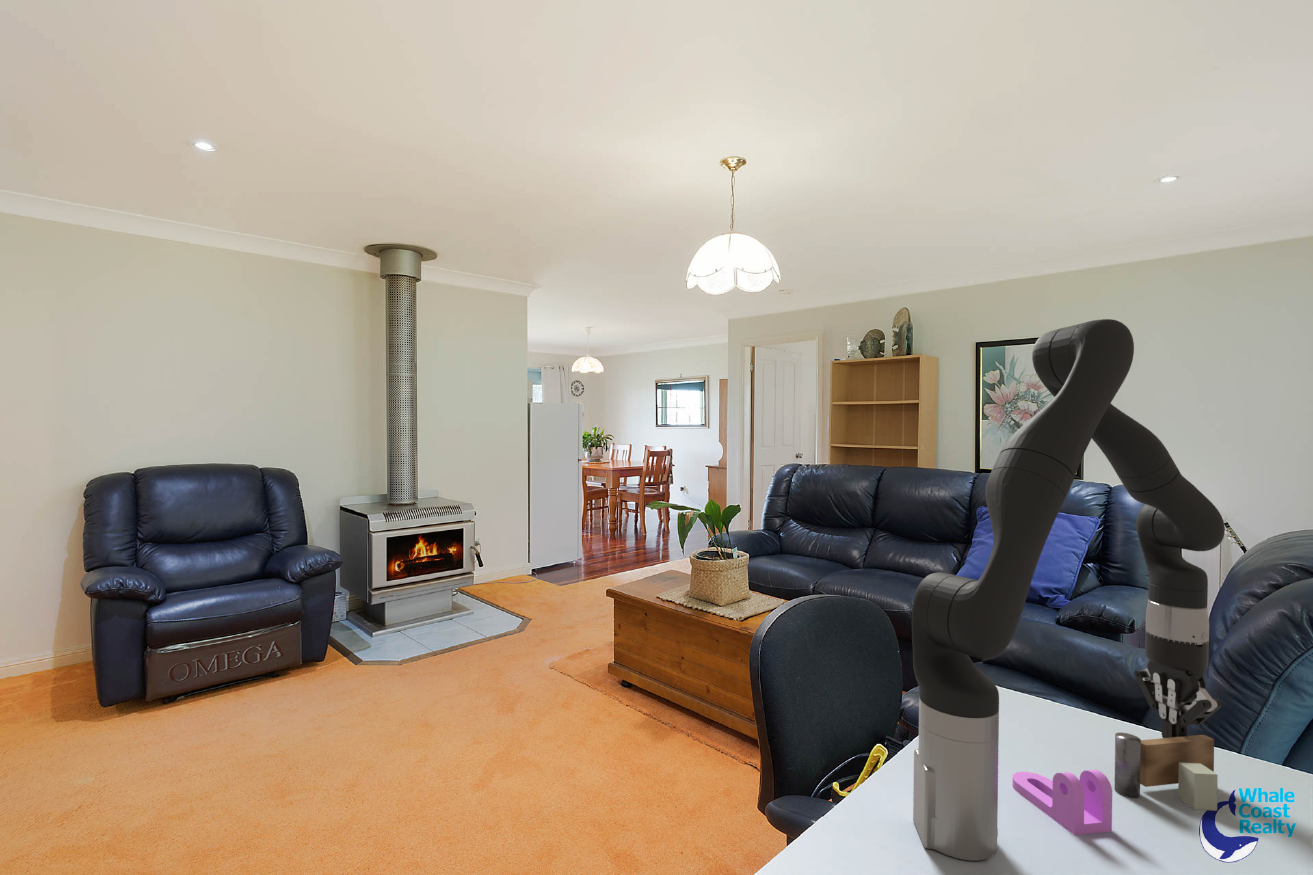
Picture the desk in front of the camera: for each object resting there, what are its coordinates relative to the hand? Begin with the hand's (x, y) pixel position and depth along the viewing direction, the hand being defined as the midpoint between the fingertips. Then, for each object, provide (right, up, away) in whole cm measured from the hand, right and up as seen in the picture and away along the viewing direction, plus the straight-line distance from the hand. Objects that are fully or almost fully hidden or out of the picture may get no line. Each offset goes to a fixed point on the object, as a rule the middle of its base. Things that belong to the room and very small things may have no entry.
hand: (1173, 745), depth 98 cm
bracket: (-23, -5, -8) cm, 25 cm away
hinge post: (-11, -5, -5) cm, 13 cm away
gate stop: (-3, -5, -8) cm, 9 cm away
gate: (-2, -4, -3) cm, 5 cm away
